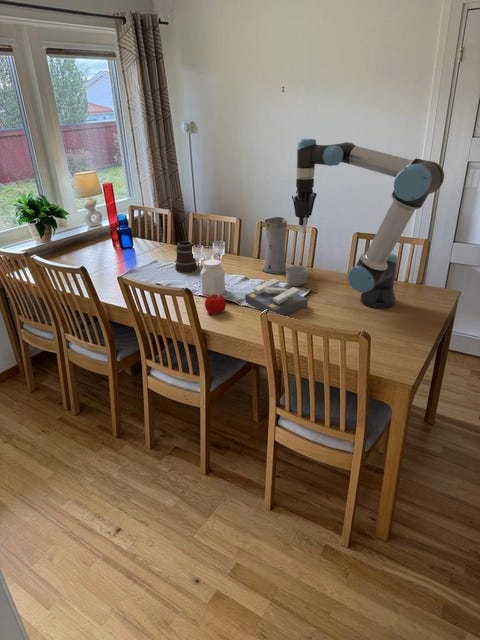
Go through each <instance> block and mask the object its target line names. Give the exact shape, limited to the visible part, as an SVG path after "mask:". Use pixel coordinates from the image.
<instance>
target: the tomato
mask: <svg viewBox="0 0 480 640" xmlns="http://www.w3.org/2000/svg"><path fill="white" fill-rule="evenodd" d="M226 306H227V301H226V299H225V297H224V295H223V294H222V295H219V296H218V295H216V294H212V295H208V296H207V297H206V298H205V300H204V309H206V311H207V312H208V313H209V314H210V315H211V314H212V315H216V314H221V313H224V312H225V310H226Z"/></svg>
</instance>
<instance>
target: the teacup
mask: <svg viewBox="0 0 480 640" xmlns="http://www.w3.org/2000/svg"><path fill="white" fill-rule="evenodd" d="M308 271H309V269H308V268H307V267H305V266H301V265H296V264H295V265H293V266H288V267H286V272H285V277H286V278H285V279H286V282H287V283H288V284H289V285H291V286H292V287H302V286H304V285H305V284H306V283H307V282H308Z"/></svg>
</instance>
